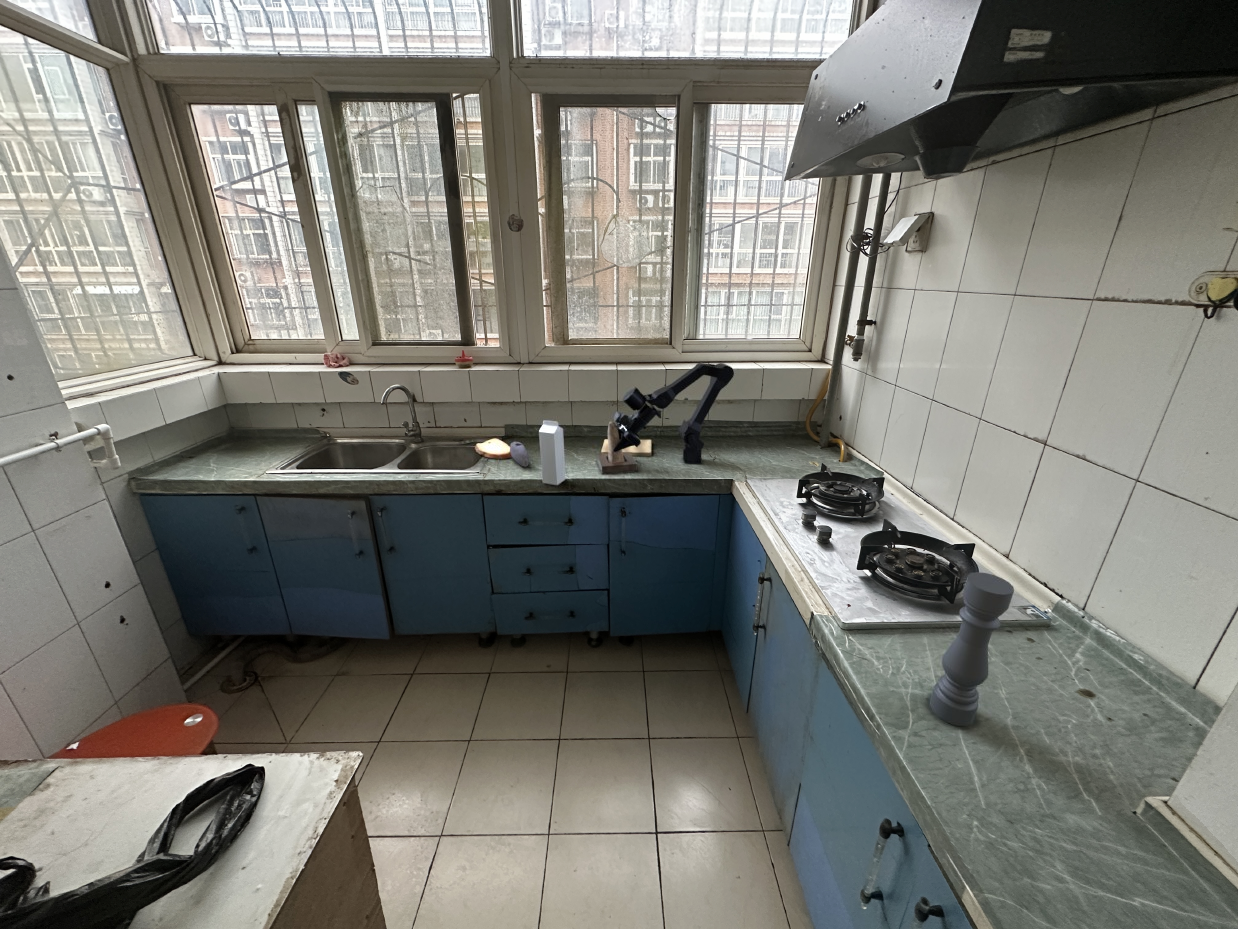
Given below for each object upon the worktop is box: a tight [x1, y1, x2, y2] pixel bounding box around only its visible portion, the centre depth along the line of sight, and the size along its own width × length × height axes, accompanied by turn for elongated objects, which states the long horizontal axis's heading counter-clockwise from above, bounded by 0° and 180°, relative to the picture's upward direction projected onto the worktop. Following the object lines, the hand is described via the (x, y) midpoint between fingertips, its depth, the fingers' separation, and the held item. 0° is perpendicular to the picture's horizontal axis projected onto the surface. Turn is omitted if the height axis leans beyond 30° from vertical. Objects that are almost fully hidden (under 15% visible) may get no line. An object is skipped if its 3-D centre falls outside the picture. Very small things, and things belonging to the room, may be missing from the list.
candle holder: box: [929, 571, 1015, 727], centre depth 78 cm, size 6×6×25 cm
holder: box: [596, 452, 638, 475], centre depth 187 cm, size 13×13×3 cm
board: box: [600, 438, 652, 457], centre depth 206 cm, size 20×16×2 cm
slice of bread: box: [474, 437, 513, 460], centre depth 204 cm, size 18×18×4 cm
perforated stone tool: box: [509, 441, 530, 468], centre depth 191 cm, size 15×5×7 cm, turn 26°
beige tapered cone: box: [607, 421, 625, 463], centre depth 185 cm, size 6×18×6 cm
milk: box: [538, 419, 566, 486], centre depth 171 cm, size 6×6×22 cm
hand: (612, 448), depth 185 cm, fingers open, 5 cm apart
